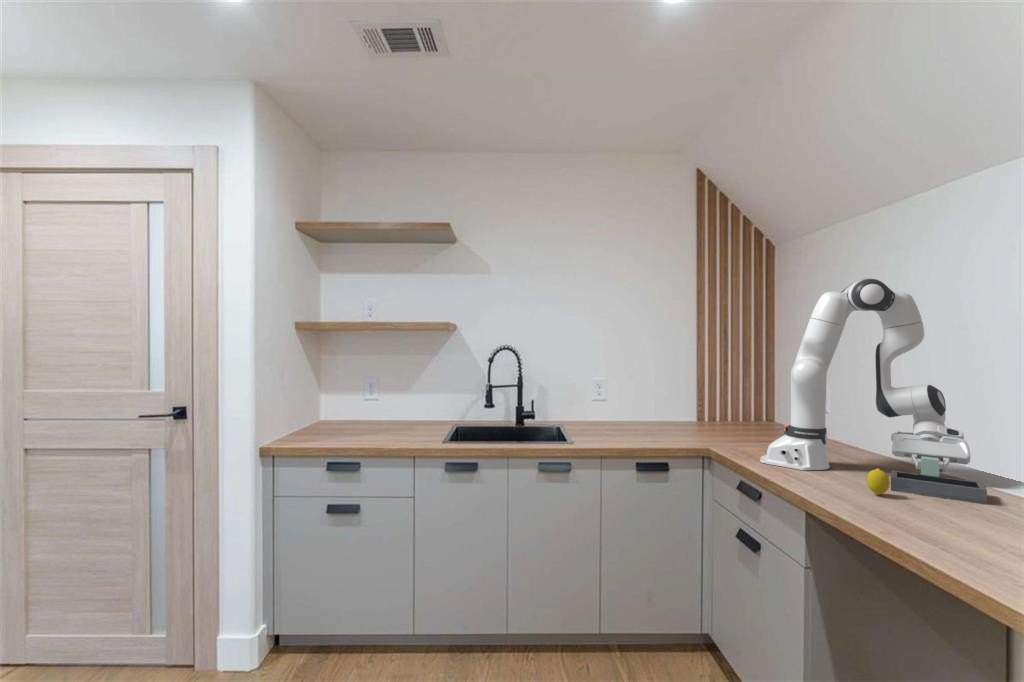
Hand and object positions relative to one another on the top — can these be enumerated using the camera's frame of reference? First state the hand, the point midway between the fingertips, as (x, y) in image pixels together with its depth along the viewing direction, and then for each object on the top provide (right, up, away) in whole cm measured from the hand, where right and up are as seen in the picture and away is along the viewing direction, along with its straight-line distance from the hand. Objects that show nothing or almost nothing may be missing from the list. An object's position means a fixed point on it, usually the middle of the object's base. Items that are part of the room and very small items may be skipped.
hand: (930, 469), depth 170 cm
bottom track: (-7, -4, -10) cm, 13 cm away
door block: (0, -4, +1) cm, 4 cm away
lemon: (-26, -5, -13) cm, 30 cm away
